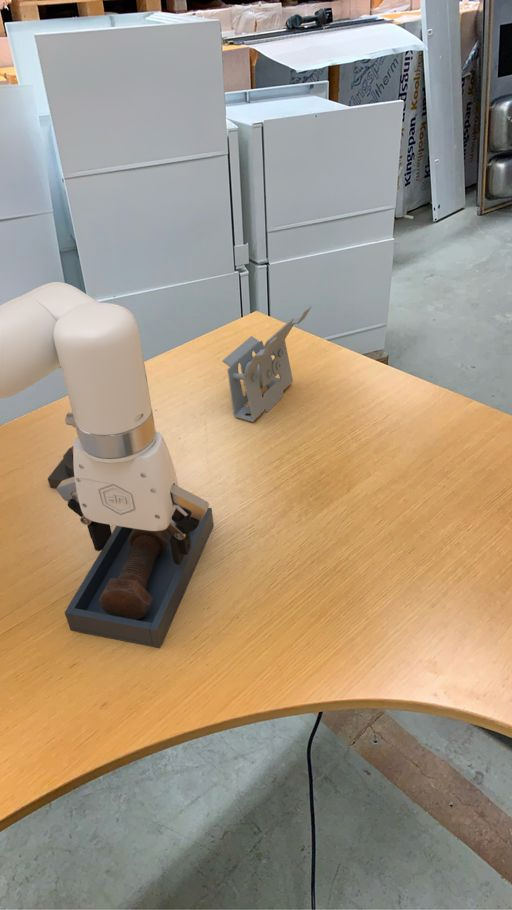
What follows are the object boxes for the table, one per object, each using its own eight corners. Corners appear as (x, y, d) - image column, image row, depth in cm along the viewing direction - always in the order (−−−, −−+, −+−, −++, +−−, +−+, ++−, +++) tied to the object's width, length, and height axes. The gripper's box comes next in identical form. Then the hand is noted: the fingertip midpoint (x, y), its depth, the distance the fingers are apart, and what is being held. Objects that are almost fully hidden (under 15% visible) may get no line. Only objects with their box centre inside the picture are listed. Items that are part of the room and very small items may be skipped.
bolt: (168, 536, 84) (134, 629, 72) (132, 519, 84) (92, 611, 72) (186, 508, 81) (154, 600, 69) (149, 490, 80) (110, 581, 68)
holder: (70, 630, 72) (64, 612, 70) (137, 514, 86) (133, 496, 85) (160, 648, 70) (156, 630, 68) (213, 525, 84) (211, 507, 82)
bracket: (273, 430, 100) (270, 342, 91) (219, 413, 104) (211, 328, 95) (310, 389, 109) (311, 305, 100) (259, 376, 113) (255, 294, 104)
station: (50, 487, 91) (44, 468, 89) (76, 453, 98) (71, 434, 95) (109, 496, 89) (104, 476, 87) (132, 460, 96) (128, 441, 93)
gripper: (19, 440, 64) (59, 560, 75) (186, 462, 60) (203, 586, 71) (56, 399, 70) (88, 516, 80) (211, 417, 66) (223, 537, 76)
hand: (142, 548), depth 75 cm, fingers open, 9 cm apart
